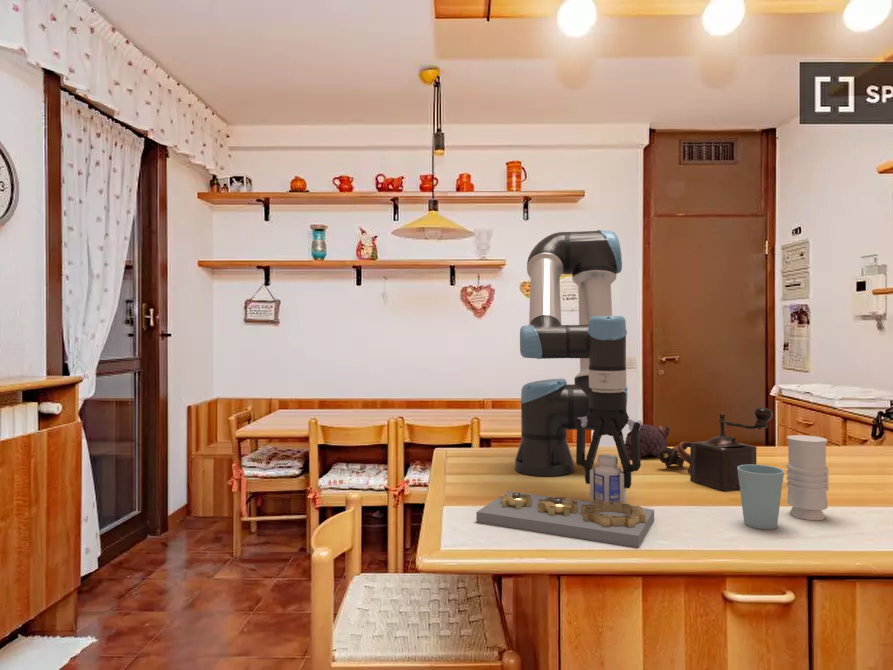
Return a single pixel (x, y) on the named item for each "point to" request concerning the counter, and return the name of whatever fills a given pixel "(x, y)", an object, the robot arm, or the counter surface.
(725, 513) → the counter surface
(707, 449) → the manual coffee grinder
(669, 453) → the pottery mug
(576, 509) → the gear
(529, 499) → the idler gear
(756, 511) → the cup
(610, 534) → the gear board
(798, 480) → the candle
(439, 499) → the counter surface
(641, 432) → the pine cone
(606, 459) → the pill bottle
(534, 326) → the robot arm
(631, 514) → the gear
